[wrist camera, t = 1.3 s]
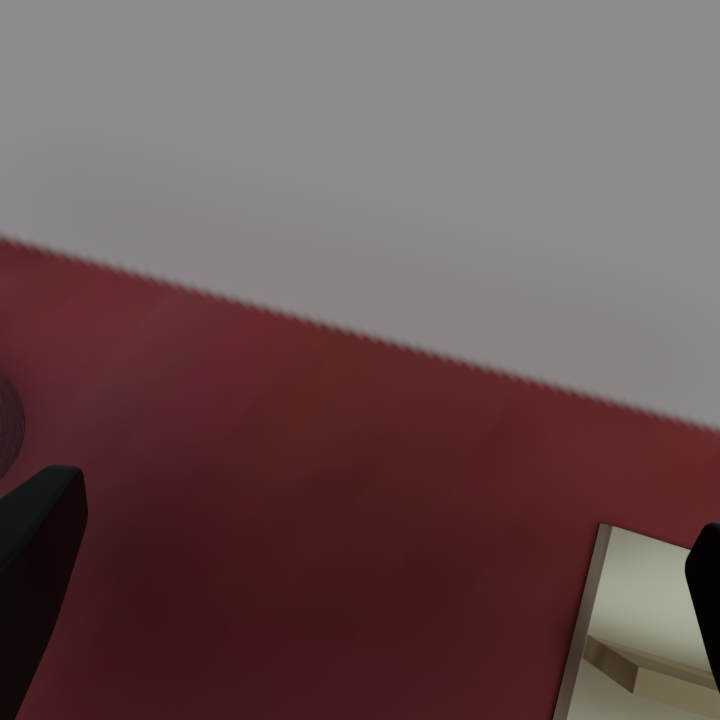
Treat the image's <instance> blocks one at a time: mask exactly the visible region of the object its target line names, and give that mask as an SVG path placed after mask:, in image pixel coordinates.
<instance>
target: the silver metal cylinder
mask: <svg viewBox="0 0 720 720" xmlns="http://www.w3.org/2000/svg"><path fill="white" fill-rule="evenodd" d="M24 430H25V418H24V411H23V407H22V403H21V400H20V398H19V396H18V394H17V392H16V390H15V389H14V387H13V385H12V384H11V383H10V382H9V381H8V380H7V378H6V377H4V376H3V375H2V374H1V373H0V478H1V477H2V476H3V475H4V474H5V473H6V472H7V471H8V469H9V468H10V467H11V465H12V464H13V462H14V460H15V459H16V457H17V455H18V453H19V450H20V448H21V445H22V441H23V437H24Z"/></svg>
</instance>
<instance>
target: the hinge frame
mask: <svg viewBox="0 0 720 720" xmlns="http://www.w3.org/2000/svg"><path fill="white" fill-rule="evenodd" d="M690 551H691V550H688V549H685V548H681V547H678V546H675V545H672V544H669V543H665V542H662V541H659V540H656V539H653V538H650V537H646V536H643V535H640V534H637V533H634V532H631V531H627V530H624V529H621V528H618V527H615V526H611V525H607V524H602V523H600V527H599V531H598V535H597V539H596V543H595V547H594V551H593V555H592V560H591V564H590V568H589V572H588V576H587V580H586V584H585V589H584V593H583V597H582V601H581V605H580V609H579V613H578V617H577V622H576V626H575V630H574V634H573V638H572V642H571V646H570V651H569V655H568V659H567V663H566V667H565V671H564V675H563V679H562V684H561V688H560V692H559V696H558V700H557V704H556V708H555V713H554V717H553V720H720V694H719V691H718V688H717V685H716V683H715V680H714V677H713V674H712V671H711V668H710V664H709V661H708V658H707V654H706V650H705V647H704V643H703V639H702V636H701V632H700V628H699V625H698V621H697V617H696V614H695V610H694V607H693V603H692V599H691V596H690V592H689V588H688V585H687V581H686V577H685V561H686V558H687V556H688V554H689V552H690Z"/></svg>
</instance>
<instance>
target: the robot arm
mask: <svg viewBox="0 0 720 720" xmlns="http://www.w3.org/2000/svg"><path fill="white" fill-rule="evenodd" d="M87 519H88V506H87V498H86V490H85V482H84V475H83V472H82V470H81V469H80V468H78V467H75V466H64V465H50V466H47V467H46V468H44V469H42V470H41V471H40V472H38V473H37V474H35V475H34V476H32V477H31V478H29V479H28V480H27V481H25V482H24V483H22V484H21V485H19V486H18V487H17V488H15V489H14V490H12V491H11V492H9V493H8V494H6V495H5V496H4V497H2V498H1V499H0V720H15V718H16V716H17V713H18V711H19V709H20V706H21V704H22V702H23V700H24V697H25V695H26V693H27V691H28V688H29V686H30V684H31V681H32V679H33V677H34V675H35V672H36V670H37V668H38V666H39V663H40V661H41V659H42V656H43V654H44V652H45V650H46V647H47V645H48V642H49V640H50V638H51V635H52V633H53V630H54V627H55V624H56V621H57V618H58V615H59V612H60V609H61V606H62V603H63V600H64V596H65V593H66V590H67V587H68V583H69V580H70V577H71V574H72V570H73V567H74V564H75V561H76V558H77V554H78V551H79V548H80V545H81V541H82V538H83V535H84V532H85V528H86V525H87ZM685 577H686V581H687V585H688V588H689V592H690V596H691V599H692V603H693V607H694V610H695V614H696V617H697V621H698V625H699V628H700V632H701V636H702V639H703V643H704V647H705V650H706V654H707V658H708V661H709V664H710V668H711V671H712V674H713V677H714V680H715V683H716V685H717V688H718V691H719V694H720V522H711V523H708V524H707V525H705V526H704V528H703V529H702V531H701V533H700V535H699V536H698V538H697V540H696V542H695V543H694V545H693V547H692V549H691V551H690V552H689V554H688V556H687V558H686V561H685Z"/></svg>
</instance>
